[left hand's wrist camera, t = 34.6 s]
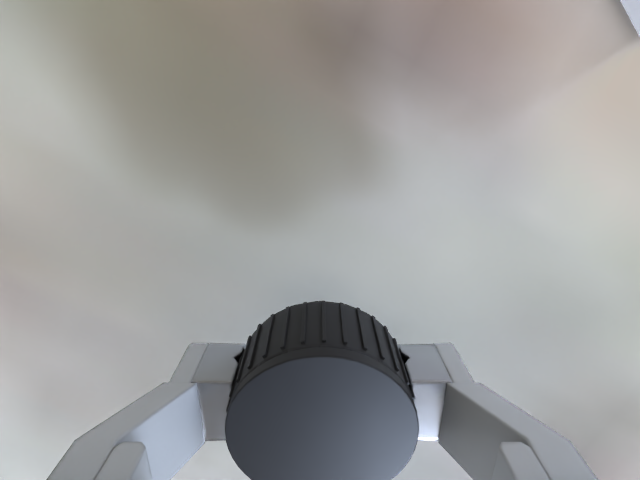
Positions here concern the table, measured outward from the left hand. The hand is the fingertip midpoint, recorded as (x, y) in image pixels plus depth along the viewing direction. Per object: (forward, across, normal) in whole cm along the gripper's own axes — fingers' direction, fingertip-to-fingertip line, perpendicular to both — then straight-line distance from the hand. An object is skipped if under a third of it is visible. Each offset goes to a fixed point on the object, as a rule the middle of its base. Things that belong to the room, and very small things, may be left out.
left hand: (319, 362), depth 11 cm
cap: (-2, 0, 0) cm, 2 cm away
